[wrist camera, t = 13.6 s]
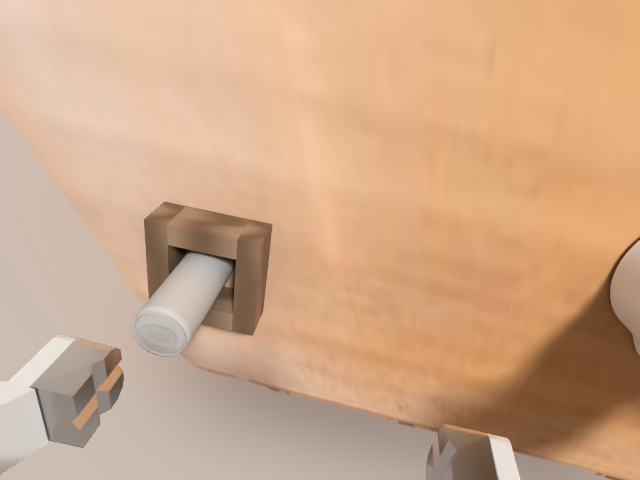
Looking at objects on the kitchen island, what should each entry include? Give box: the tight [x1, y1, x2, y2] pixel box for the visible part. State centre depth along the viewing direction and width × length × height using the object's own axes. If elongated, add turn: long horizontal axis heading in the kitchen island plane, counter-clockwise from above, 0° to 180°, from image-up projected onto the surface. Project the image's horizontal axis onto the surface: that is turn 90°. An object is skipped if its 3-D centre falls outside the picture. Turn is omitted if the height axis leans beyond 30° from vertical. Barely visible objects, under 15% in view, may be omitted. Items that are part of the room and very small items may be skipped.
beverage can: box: [132, 250, 233, 357], centre depth 40 cm, size 5×5×12 cm
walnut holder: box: [144, 202, 272, 336], centre depth 43 cm, size 11×11×4 cm
